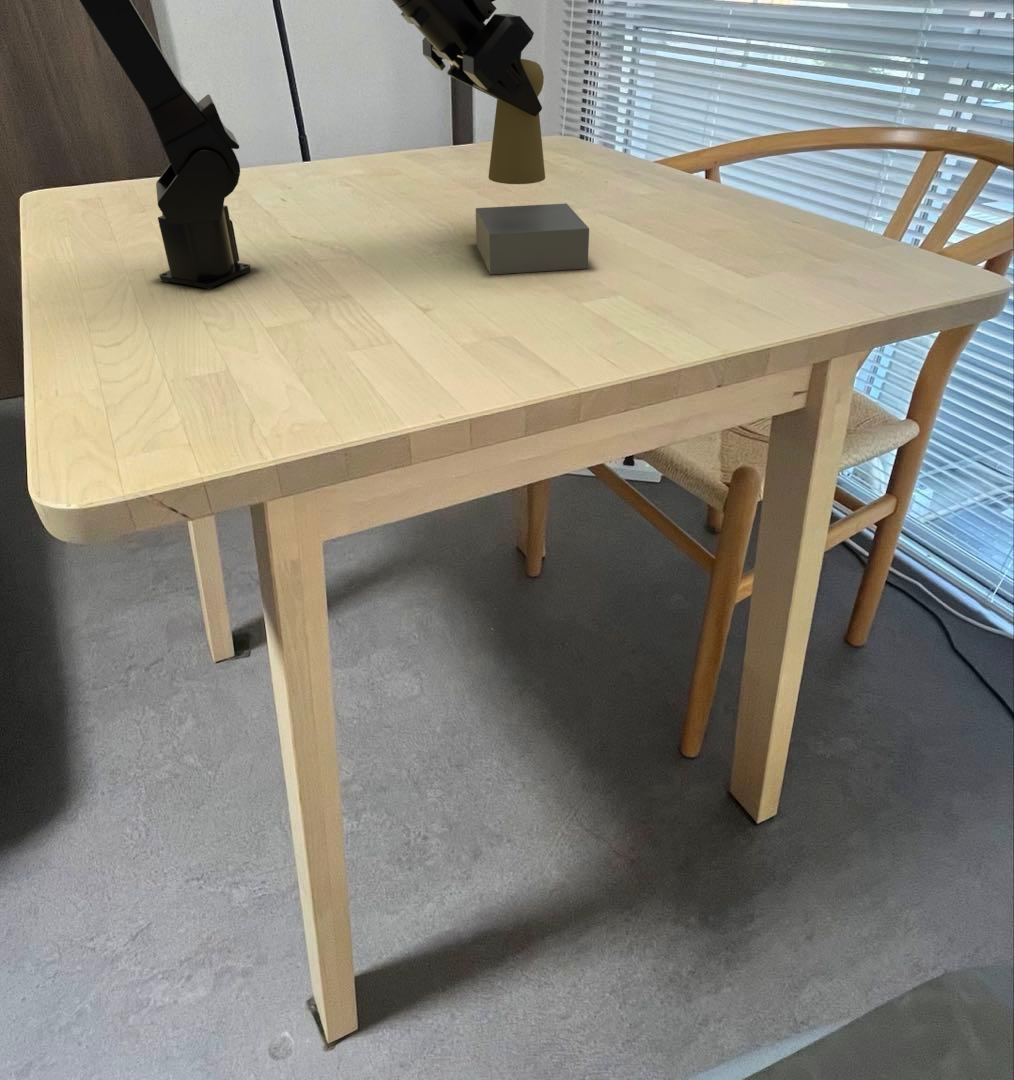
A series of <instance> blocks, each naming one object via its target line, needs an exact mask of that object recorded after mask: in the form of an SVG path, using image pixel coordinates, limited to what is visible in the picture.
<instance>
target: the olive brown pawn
mask: <svg viewBox="0 0 1014 1080" xmlns="http://www.w3.org/2000/svg"><path fill="white" fill-rule="evenodd" d="M521 63H522V65H523V68H524V70H525V72H526V74H527V76H528V79H529V81H530V83H531V85H532V87H533V89H534V91H535V93H536V95H537V98H538V99H539V96H540V94H541V92H542V90H543V86H544V82H545V81H544V78H545V76H544V71H543V69H542V67H541V65H540V64H539V63H538V62H536V61H533V60H530V59H525V58H521ZM541 129H542V128H541V118H540V113H539V114H538V115H537V116H532V115H530V114H528V113H526V112H524V111H522V110H520V109H518V108H516V107H514V106H513V105H511V104H509V103H507V102H505V101H503V100H501V99H499V98H497V99H496V107H495V115H494V124H493V131H492V132H493V133H492V140H491V141H492V142H491V150H490V160H489V168H488V177H487V178H488V180H490V181H491V182H494V183H498V184H505V185H529V184H537V183H540V182H543V181H545V179H546V172H545V171H546V169H545V160H544V151H543V149H544V148H543V140H542V139H543V138H542V130H541Z"/></svg>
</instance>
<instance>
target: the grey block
mask: <svg viewBox="0 0 1014 1080" xmlns="http://www.w3.org/2000/svg"><path fill="white" fill-rule="evenodd" d="M475 237H476V238H475V241H476V242H475V243H476V244H475V245H476V248H477V250H478V252H479V254H480V256H481V258H482V261H483V263H484V264H485V266H486V268H487V271H488V272H489V274H490V275H507V274H522V273H523V274H524V273H538V272H554V271H573V270H587V269H588V265H589V248H590V247H589V246H590V228H589V226H588V225H587V224H586V223H585V222H584V221H583V220H582V219H581V218H580V216H579V215H578V214H577V213H576V212H575V211H574V210H573V208H572V207H571V206H570V205H569V204H568V203H549V204H529V205H527V204H526V205H509V206H492V207H491V206H490V207H489V206H488V207H476V208H475Z"/></svg>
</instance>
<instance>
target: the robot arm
mask: <svg viewBox="0 0 1014 1080" xmlns="http://www.w3.org/2000/svg"><path fill="white" fill-rule="evenodd" d="M78 1H79V2H80V4H81V6H82V7H83V8H84V11H85V12H86V13H87V15H88V16H89V18H90V20H91V21H92V23H93V24H94V26H95V27H96V30H98V32H99V34H100V35H101V37H102V39H103V40H104V42H105V44H106V45H107V46H108V48H109V50H110V51H111V53H112V54H113V57H114V58H115V59H116V60H117V62H118V64H119V65H120V66H121V68H122V71H123V72H124V73H125V75H126V76H127V78H128V80H129V82H130V83H131V85H132V86H133V88H134V89H135V91H136V92H137V93H138V95H139V97H140V99H141V100H142V102H143V103H144V105H145V107H146V109H147V111H148V114H149V116H150V119H151V121H152V123H153V126H154V129H155V131H156V133H157V135H158V138H159V141H160V143H161V145H162V148H163V150H164V152H165V154H166V156H167V159H168V162H169V164H168V166H167V167H166V168H165V170H164V171H163V172H162V174H161V175H160V177H159V178H158V180H157V181H156V183H155V187H156V188H155V189H156V201H157V207H158V208H159V210H160V212H161V214H162V215H161V216H158V217H157V221H158V225H159V230H160V234H161V239H162V243H163V247H164V251H165V255H166V260H167V265H168V269H169V270H168V271H165V272H163V273H160V274H159V276H158V277H159V280H160V281H163V282H169V283H176V284H180V285H187V286H191V287H197V288H202V289H203V288H204V289H212V288H215V287H216V286H218V285H221V284H223V283H225V282H228V281H229V280H232V279H234V278H237V277H239V276H241V275H244V274H245V273H248V272H250V271H251V270H252V266H251V265H250V264H248V263H243V262H242V263H241V262H239V261H240V256H239V250H238V244H237V240H236V235H235V228H234V223H233V220H231V218H230V212H229V207H228V205H225V199H226V198H227V197H228V196H229V195H230V194H232V193H233V192H234V190H235V189H236V187H237V186H238V183H239V180H240V176H241V167H240V162H239V160H238V157H237V155H236V153H235V150H239V149H240V144H239V143H238V141H237V138H236V137H235V135H234V133H233V132H232V131H231V130H230V129H228V127H226V125H225V124H224V122H222V119H221V117H220V115H219V111H218V110H217V107H216V105H215V103H214V100H213V98H212V96H211V95H210V94H206V95H205V96H204V97H203V98H201V99H200V100H199V101H197V100H196V99H195V97H194V96H193V94H191V93H190V91H188V89H187V88H186V87H185V86H184V84H183V83H182V82H181V81H180V80H179V78H178V76H177V74H176V73H175V71H174V70H173V68H172V66H171V64H170V62H169V61H168V59H167V58H166V56H165V54H164V53H163V51H162V50H161V47H160V46H159V44H158V43H157V41H156V39H155V37H154V36H153V34H152V32H151V31H150V29H149V28H148V26H147V24H146V23H145V21H144V20H143V18H142V16H141V14H140V13H139V11H138V9H137V8H136V6H135V5H134V3H133V1H132V0H78ZM391 1H392V2H393V4H395V5H396V7H398V9H399V10H400V11H401V13H400V16H401V17H402V18H403V19H404V20H405V21H406V22H407V23H408V24H411V25H413V26H415V28H416V29H417V30H418V31H419V32H420V33H421V34H422V36H424V38H423V39H422V42H421V43H422V56H423V57H425V58H426V60H427V61H428V62H429V63H430V64H431V65H432V66H433V67H434V68H435V69H437V70H439V71H442V72H443V71H444V69H445V68H446V64H445V62H444V61H443V60H446V62H447V63H448V64H449V65H450V68H449V69H448V71H447V73H446V74H447V75H448V76H449V77H451V78H453V79H455V80H457V81H458V82H459V81H460V82H461V83H464V84H465V85H467V86H470V87H471V88H474V89H475V90H478V91H479V92H482V93H483V94H486V95H488V96H489V97H492V98H494V99H496V100H497V98H499V99H501V100H503V101H505V102H507V103H509V104H511V105H513V106H514V107H516V108H518V109H520V110H522V111H524V112H526V113H528V114H530V115H532V116H537V115H538V114H539V115H540V113H541V112H542V110H543V106H542V104H541V102H540V99H539V97H538V98H537V95H536V93H535V91H534V89H533V87H532V85H531V83H530V81H529V79H528V76H527V74H526V72H525V70H524V68H523V65H522V63H521V59H522V52H523V51H524V50H525V48H527V46H528V45H529V44H530V42H531V41H532V40H533V37H534V34H535V32H534V31H533V30H532V28H531V27H530V26H529V25H528V24H527V22H526V21H525V20H524V18H523V17H522V16H520V15H515V14H510V13H495V11H496V10H497V7H496V6H495V4H494V3H493V2H495V1H496V0H391ZM488 19H489V20H488ZM486 20H488V21H487V22H486ZM485 22H486V24H485Z"/></svg>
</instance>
